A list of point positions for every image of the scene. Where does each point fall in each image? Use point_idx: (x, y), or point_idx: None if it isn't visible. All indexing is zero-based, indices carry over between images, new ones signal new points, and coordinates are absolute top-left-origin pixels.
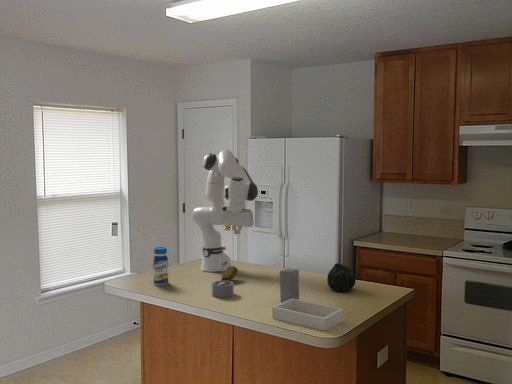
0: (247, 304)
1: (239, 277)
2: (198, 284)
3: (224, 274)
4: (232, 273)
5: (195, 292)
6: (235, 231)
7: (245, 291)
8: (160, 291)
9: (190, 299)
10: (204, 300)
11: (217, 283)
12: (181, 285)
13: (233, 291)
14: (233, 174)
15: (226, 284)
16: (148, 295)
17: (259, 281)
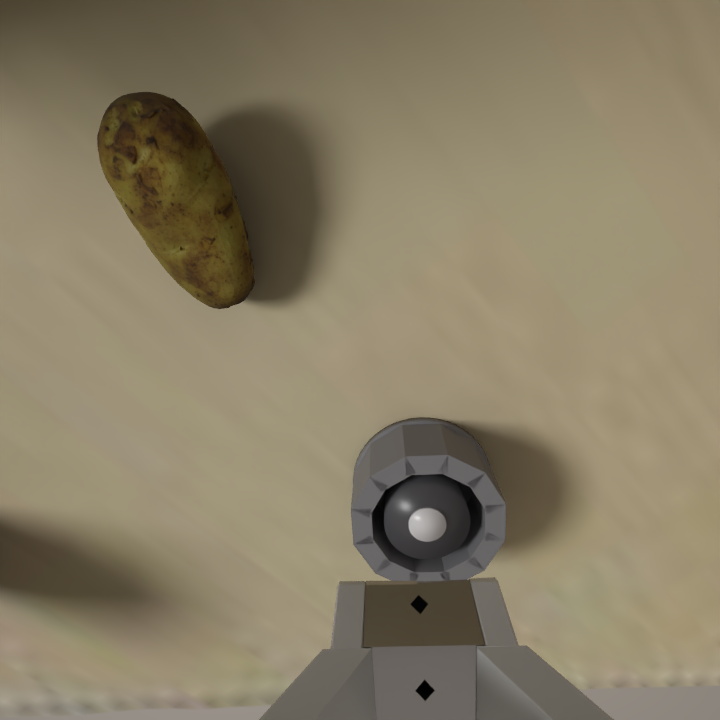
0: (670, 527)
1: (160, 36)
2: (114, 411)
3: (191, 276)
4: (231, 221)
5: (255, 541)
6: (403, 714)
7: (489, 335)
8: (96, 637)
9: None
10: None
11: (397, 542)
12: (61, 493)
13: (474, 445)
14: None
15: (466, 523)
16: (122, 709)
17: (390, 22)
